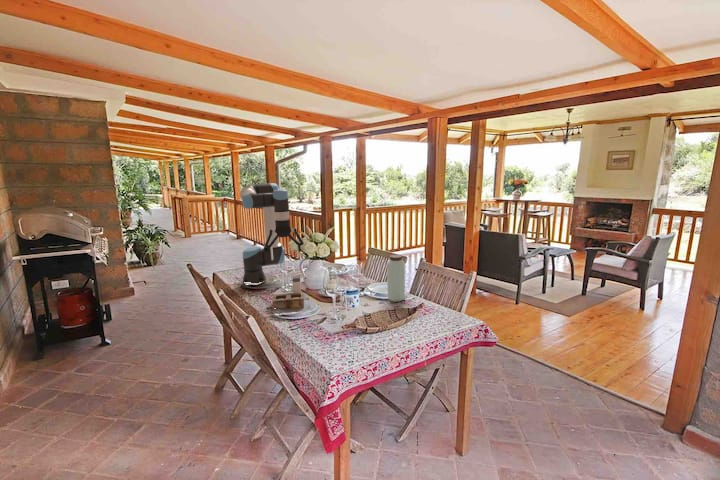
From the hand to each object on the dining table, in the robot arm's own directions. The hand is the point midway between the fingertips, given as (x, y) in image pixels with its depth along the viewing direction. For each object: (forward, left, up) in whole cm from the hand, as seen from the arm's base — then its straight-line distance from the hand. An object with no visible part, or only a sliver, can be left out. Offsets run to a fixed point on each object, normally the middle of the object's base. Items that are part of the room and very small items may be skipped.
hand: (285, 258), depth 190 cm
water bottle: (+4, +60, -27) cm, 66 cm away
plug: (-9, +5, -26) cm, 28 cm away
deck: (-9, +5, -27) cm, 29 cm away
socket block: (+2, 0, -27) cm, 27 cm away
